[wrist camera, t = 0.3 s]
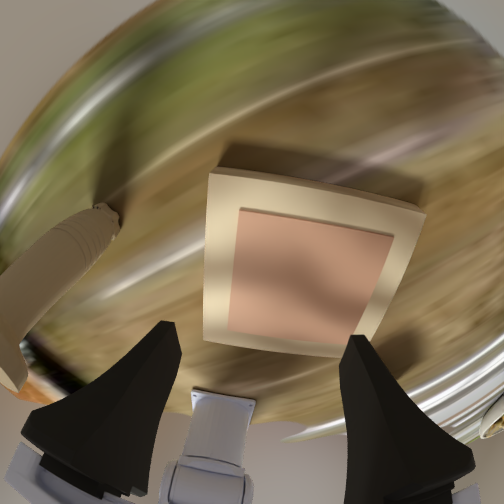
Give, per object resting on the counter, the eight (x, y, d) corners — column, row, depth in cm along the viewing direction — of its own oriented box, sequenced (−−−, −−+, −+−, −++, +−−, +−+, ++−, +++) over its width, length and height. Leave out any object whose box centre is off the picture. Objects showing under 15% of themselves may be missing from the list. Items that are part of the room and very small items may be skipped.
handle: (75, 188, 19) (-66, 292, 6) (138, 195, 19) (-17, 339, 6) (81, 239, 21) (-30, 355, 8) (141, 252, 21) (32, 405, 8)
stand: (356, 343, 24) (360, 360, 22) (208, 324, 24) (202, 341, 22) (414, 204, 17) (428, 215, 15) (216, 166, 17) (208, 173, 15)
